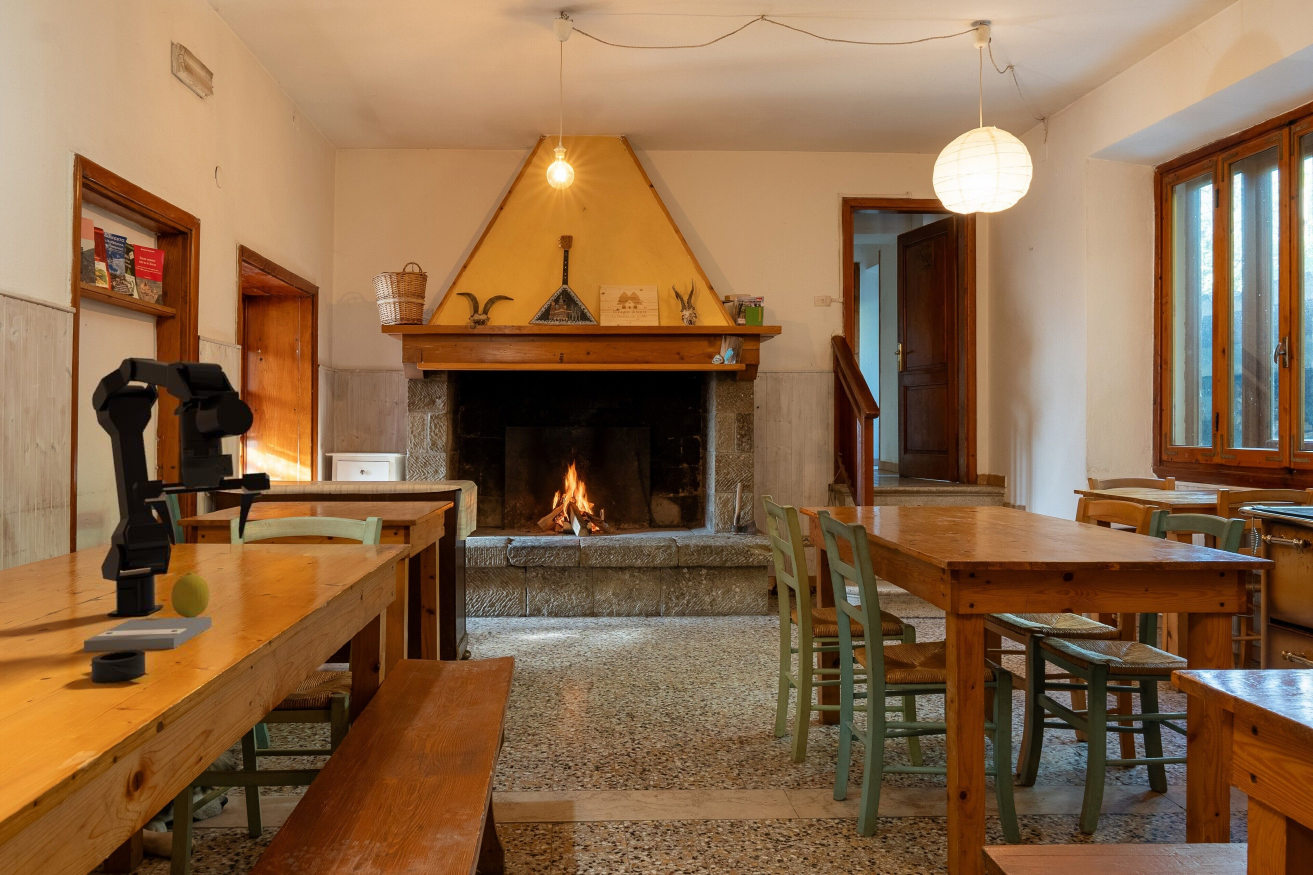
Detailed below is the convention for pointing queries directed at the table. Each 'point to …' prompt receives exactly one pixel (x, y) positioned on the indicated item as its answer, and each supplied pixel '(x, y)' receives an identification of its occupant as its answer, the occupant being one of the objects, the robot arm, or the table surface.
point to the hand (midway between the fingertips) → (207, 541)
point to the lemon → (190, 595)
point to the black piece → (118, 666)
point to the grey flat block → (148, 634)
